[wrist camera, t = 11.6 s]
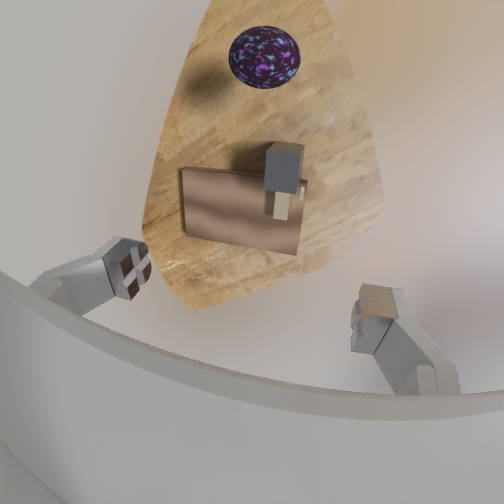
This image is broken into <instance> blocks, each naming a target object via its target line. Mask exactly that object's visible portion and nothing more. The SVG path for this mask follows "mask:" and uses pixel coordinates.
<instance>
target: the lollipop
mask: <svg viewBox="0 0 504 504" xmlns="http://www.w3.org/2000/svg"><path fill="white" fill-rule="evenodd" d="M300 59H301V56H300V50H299V47H298V45H297V43H296V42H295V40H294V39H293V38H292V37H291V36H290V35H289V34H288V33H286V32H285V31H283V30H281V29H279V28H276V27H271V26H258V27H253V28H250V29H248V30H246V31H244V32H243V33H241V34H240V35H239V36H238V37H237V38H236V39H235V40H234V42H233V43H232V45H231V47H230V51H229V65H230V68H231V70H232V72H233V73H234V75H235V76H236V77H237V78H238V79H239V80H240V81H241V82H243V83H244V84H246V85H248V86H251V87H254V88H259V89H271V88H276V87H279V86H281V85H283V84H285V83H287V82H288V81H289V80H291V79H292V78H293V76H294V75H295V74H296V72H297V70H298V68H299V65H300Z"/></svg>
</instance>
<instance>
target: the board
mask: <svg viewBox="0 0 504 504" xmlns="http://www.w3.org/2000/svg"><path fill="white" fill-rule="evenodd" d="M182 176H183V195H184V210H185V224H186V236H188V237H194V238H199V239H205V240H211V241H216V242H222V243H228V244H233V245H239V246H245V247H250V248H256V249H261V250H267V251H273V252H278V253H284V254H289V255H295V256H296V253H297V248H298V242H299V235H300V229H301V223H302V216H303V209H304V202H305V195H306V188H307V181H308V180H303V179H300V182H299V186H298V189H297V193H296V195H295V194H291V198H290V206H289V215H288V219H287V221H285V220H279V219H273V214H274V203H275V193H276V191H269V190H264V177H265V174H261V173H253V172H244V171H235V170H225V169H214V168H202V167H186V168H185V169H183V170H182Z"/></svg>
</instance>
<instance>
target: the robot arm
mask: <svg viewBox="0 0 504 504" xmlns="http://www.w3.org/2000/svg"><path fill="white" fill-rule="evenodd" d="M148 252H149V250H148V246H147V244H146V243H145V242H141V241H137V240H132V239H128V238H124V237H119V236H115V237H112V238H111V239H110V240H109V241H108V242H106V243H105V244H104V245H103V246H102V247H101V248H100V249H98V250H97V251H96V252H95V253H94V254H93V255H91V256H90V255H88V256H85V257H82V258H79V259H77V260H74V261H71V262H69V263H66V264H63V265H61V266H58V267H55V268H53V269H50V270H48V271H45V272H44V273H43V274H41V275H40V276H39V277H38V278H37V279H36V280H35V281H34V282H33V283H32V284H31V285H30V286H29V287H28V288H27V287H25V286H24V285H22V284H21V283H19V282H17V281H16V280H14V279H13V278H11V277H9V276H8V275H6V274H5V273H3V272H2V271H0V504H504V390H498V391H491V392H482V393H471V394H461V390H460V385H459V380H458V376H457V371H456V367H455V365H454V364H453V363H452V361H451V360H450V359H449V358H448V357H447V356H446V355H445V353H444V352H443V351H442V350H441V349H440V348H439V347H438V346H437V345H436V343H435V342H434V341H433V340H432V339H431V338H430V337H429V336H428V334H426V332H425V331H424V330H423V329H422V328H421V327H420V326H419V325H418V324H417V323H416V322H413V321H412V319H411V315H410V311H409V307H408V304H407V300H406V297H405V293H404V290H403V289H400V288H392V287H383V286H377V285H371V284H362V286H361V288H360V291H359V300H357V301H356V302H355V304H354V307H353V310H352V314H351V328H352V329H353V333H352V335H351V351H352V352H358V353H365V354H371V355H373V357H374V358H375V360H376V362H377V364H378V365H379V367H380V369H381V370H382V372H383V374H384V375H385V377H386V379H387V381H388V382H389V384H390V386H391V388H392V389H393V391H394V394H393V395H389V394H374V393H361V392H351V391H342V390H332V389H326V388H318V387H312V386H305V385H299V384H293V383H288V382H282V381H278V380H272V379H268V378H262V377H258V376H254V375H249V374H245V373H241V372H237V371H232V370H229V369H225V368H221V367H217V366H214V365H211V364H207V363H204V362H200V361H196V360H193V359H190V358H187V357H184V356H181V355H178V354H175V353H172V352H168V351H166V350H163V349H160V348H157V347H154V346H151V345H149V344H146V343H143V342H141V341H138V340H136V339H133V338H130V337H128V336H125V335H123V334H120V333H118V332H115V331H113V330H111V329H109V328H106V327H104V326H102V325H99V324H97V323H95V322H93V321H91V320H88V319H86V318H84V317H82V316H83V315H84V314H86V313H88V312H89V311H91V310H93V309H94V308H96V307H98V306H100V305H101V304H103V303H105V302H107V301H108V300H110V299H112V298H113V297H115V296H117V297H120V298H124V299H127V300H130V301H131V300H132V299H133V298H134V296H135V295H136V294H137V293H138V292H139V290H140V289H139V286H140V285H142V284H145V283H146V282H147V280H148V279H149V277H150V274H151V268H152V266H151V261H150V260H149V259H148V257H147V254H148Z"/></svg>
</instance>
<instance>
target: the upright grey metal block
mask: <svg viewBox="0 0 504 504" xmlns="http://www.w3.org/2000/svg"><path fill="white" fill-rule="evenodd" d="M303 155H304V145H301V144H294V143H286V142H278V141H276V142H275V143H274V144H273V145H272V146H271V147H269V148H268V149H267V150H266V163H265V177H264V190H269V191H276V193H275V203H274V214H273V219H279V220H285V221H287V219H288V215H289V206H290V198H291V194H295V195H296V193H297V189H298V186H299V182H300V179H301V172H302V163H303Z"/></svg>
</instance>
